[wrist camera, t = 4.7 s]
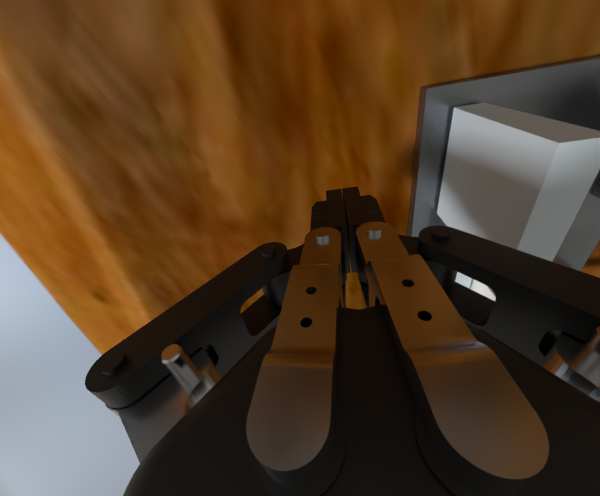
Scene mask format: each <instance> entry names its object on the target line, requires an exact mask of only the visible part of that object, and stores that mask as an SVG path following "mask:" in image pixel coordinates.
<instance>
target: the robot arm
mask: <svg viewBox="0 0 600 496" xmlns="http://www.w3.org/2000/svg"><path fill="white" fill-rule="evenodd" d="M342 192H343V198H342ZM326 198H327V201H320V202H316V203H315V204H314V206H313V207H312V215H311V230H310V232H309V233H308V234H307V235H306V237H305V241H304V244H303V245H301V246H299V247H296V248H293V249H290V250H287V248H286V246H285V245H284V244H282V243H278V242H271V243H266V244H263V245H261V246H259V247H257V248H256V249H255V250H253V251H252V252H250V253H249V254H247V255H246V256H244V257H243V258H242V259H240V260H239V261H237V262H236V263H234V264H233V265H231V266H230V267H228V268H227V269H226V270H224V271H223V272H221V273H220V274H218V275H217V276H215V277H214V278H213V279H211V280H210V281H208V282H207V283H205V284H204V285H202V286H201V287H200V288H198V289H197V290H195V291H194V292H192V293H191V294H189V295H188V296H187V297H185V298H184V299H182V300H181V301H179V302H178V303H176V304H175V305H174V306H172V307H171V308H169V309H168V310H166V311H165V312H163V313H162V314H161V315H159V316H158V317H156V318H155V319H153V320H152V321H150V322H149V323H148V324H146V325H145V326H143V327H142V328H140V329H139V330H137V331H136V332H135V333H133V334H132V335H130V336H129V337H127V338H126V339H124V340H123V341H121V342H120V343H119V344H117V345H116V346H114V347H113V348H111V349H110V350H108V351H107V352H106V353H104V354H103V355H102V356H101V357H100V358H99V359H98V360H97V361H96V362H95V363H94V364H93V366H92V367H91V369H90V370H89V372H88V374H87V376H86V380H85V385H86V388H87V389H88V390H89V391H90V392H91V393H93V394H94V395H96V397H98V398H99V399H100V400H102V401H103V402H104V403H105V405H106V406H107V408H109V409H110V410H111V411H113V412H114V413H115V414H117V415H118V416H119V417H120V418H121V420H122V423H123V425H124V427H125V430H126V432H127V434H128V436H129V439H130V441H131V444H132V446H133V448H134V450H135V453H136V455H137V457H138V460H139V462H140V465H139V467H138V468H137V470H136V471H135V473H134V475H133V477H132V478H131V480H130V482H129V484H128V486H127V488H126V490H125V493H124V495H123V496H600V278H598V277H595V276H592V275H589V274H586V273H583V272H581V271H578V270H575V269H572V268H569V267H566V266H563V265H560V264H557V263H554V262H551V261H549V260H546V259H543V258H540V257H537V256H534V255H531V254H528V253H525V252H522V251H519V250H516V249H514V248H511V247H508V246H505V245H502V244H499V243H496V242H493V241H490V240H487V239H484V238H481V237H479V236H476V235H473V234H470V233H467V232H464V231H461V230H458V229H455V228H452V227H448V226H440V225H437V226H429V227H426V228H424V229H422V230H421V231H420V232H419V236H418V237H410V236H402V235H398V234H397V233H396V232H395V230H394V228H393V227H392V226H391V225H389V224H387V223H386V222H385V220H384V217H383V215H382V213H381V210H380V208H379V206H378V203H377V200H376V199H375V198H373V197H372V196H370V195H366V196H360V193H359V190H358V187H350V188H343V189H342V191H341V189H336V190H328V191H326ZM349 255H350V260H349ZM350 262H351V268H352V272H358V282H359V289H360V292H361V296H362V300H363V303H364V307H365V309H361V310H357V309H349V308H346V283H345V282H346V280H347V275H346V273H350ZM457 272H459V273H461V274H463V275H465V276H468V277H470V278H472V279H474V280H476V281H478V282H481V283H483V284H485V285H487V286H488V287H490V288H491V289H492V290H493V292H494V293H495V296H496V300H495V301H493V300H491V299H489V298H487V297H485V296H483V295H481V294H479V293H477V292H475V291H473V290H471V289H469V288H467V287H465V286H463V285H461V284H459V283H457V282H455V280H456V276H457ZM261 288H262V289H263V292H264V295H263V296H261V297H260V298H259V299H258V300H257V301H256V302H254V303H253V304H252V305H251V306H250V307H248V308H247V309H246V310H245V311H244V312H242V313H241V314H240V310H241V307H242V305H243V303H244V302H245V301H246V300H248V299H249V298H250V297H251V296H252V295H254V294H255V293H256V292H257V291H259V290H260V289H261Z"/></svg>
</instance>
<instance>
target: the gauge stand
mask: <svg viewBox="0 0 600 496" xmlns="http://www.w3.org/2000/svg"><path fill="white" fill-rule="evenodd" d="M479 103H488V104H492V105H496V106H500V107H504V108H509V109H513V110H517V111H521V112H525V113H529V114H533V115H537V116H541V117H545V118H549V119H553V120H557V121H561V122H566V123H570V124H574V125H578V126H582V127H586V128H590V129H594V130H598V131H600V55H599V56H594V57H588V58H582V59H577V60H571V61H565V62H560V63H554V64H548V65H543V66H537V67H531V68H526V69H520V70H514V71H509V72H503V73H497V74H492V75H486V76H480V77H475V78H469V79H463V80H458V81H452V82H446V83H441V84H435V85H429V86H424V87H420V97H419V108H418V119H417V130H416V141H415V152H414V163H413V174H412V185H411V197H410V208H409V219H408V230H407V236H410V237H418V236H419V232H420V231H421V230H422V229H424V228H426V227H429V226H437V225H440V226H446V224H445V223H444V222H443V221H442V219H441V218H440V217H439V215H438V214H437V209H438V203H439V197H440V191H441V185H442V178H443V172H444V166H445V160H446V153H447V147H448V141H449V135H450V128H451V122H452V116H453V110H454V107H460V106H466V105H472V104H479ZM599 240H600V170H599V172H598V174H597V176H596V178H595V180H594V182H593V184H592V186H591V187H590V189H589V191H588V193H587V195H586V197H585V199H584V201H583V203H582V205H581V207H580V209H579V211H578V213H577V215H576V217H575V219H574V221H573V223H572V224H571V226H570V228H569V230H568V232H567V234H566V236H565V238H564V240H563V242H562V244H561V246H560V248H559V250H558V252H557V254H556V256H555V258H554V260H553V262H554V263H557V264H560V265H563V266H566V267H569V268H572V269H575V270H578V271H581V270H582V268H583V266H584V265H585V263H586V261H587V260H588V258H589V256H590V255H591V253H592V251H593V250H594V248H595V247H596V245H597V243H598V242H599Z"/></svg>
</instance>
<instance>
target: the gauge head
mask: <svg viewBox="0 0 600 496" xmlns="http://www.w3.org/2000/svg"><path fill="white" fill-rule="evenodd" d="M599 170H600V131H598V130H594V129H590V128H586V127H582V126H578V125H574V124H570V123H566V122H561V121H557V120H553V119H549V118H545V117H541V116H537V115H533V114H529V113H525V112H521V111H517V110H513V109H509V108H504V107H500V106H496V105H492V104H488V103H479V104H472V105H466V106H460V107H454V110H453V116H452V122H451V128H450V135H449V141H448V147H447V153H446V160H445V166H444V172H443V178H442V185H441V191H440V197H439V203H438V209H437V214H438V215H439V217H440V218H441V219H442V221H443V222H444V223H445V224H446V226H448V227H452V228H455V229H458V230H461V231H464V232H467V233H470V234H473V235H476V236H479V237H481V238H484V239H487V240H490V241H493V242H496V243H499V244H502V245H505V246H508V247H511V248H514V249H516V250H519V251H522V252H525V253H528V254H531V255H534V256H537V257H540V258H543V259H546V260H549V261H551V262H553V260H554V258H555V256H556V254H557V252H558V250H559V248H560V246H561V244H562V242H563V240H564V238H565V236H566V234H567V232H568V230H569V228H570V226H571V224H572V223H573V221H574V219H575V217H576V215H577V213H578V211H579V209H580V207H581V205H582V203H583V201H584V199H585V197H586V195H587V193H588V191H589V189H590V187H591V186H592V184H593V182H594V180H595V178H596V176H597V174H598V172H599ZM471 280H472V278H470V277H468V276H465V275H463V274H461V273H459V272H457V276H456V280H455V282H457V283H459V284H461V285H463V286H465V287H467V288H469V287H470V284H471Z"/></svg>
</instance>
